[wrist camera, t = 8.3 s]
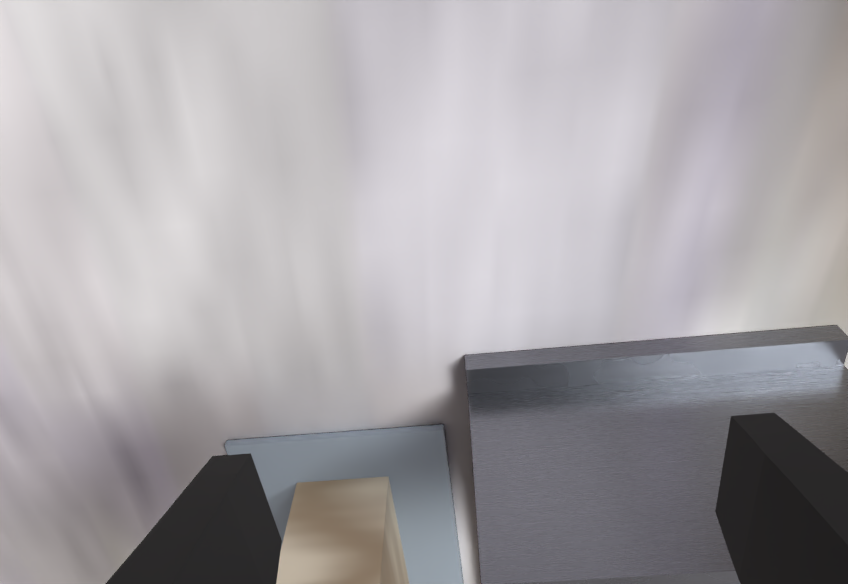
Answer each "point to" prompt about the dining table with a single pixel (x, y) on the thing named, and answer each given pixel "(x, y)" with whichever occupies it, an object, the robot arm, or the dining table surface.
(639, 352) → the rack
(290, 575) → the block
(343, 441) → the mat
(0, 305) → the dining table surface
